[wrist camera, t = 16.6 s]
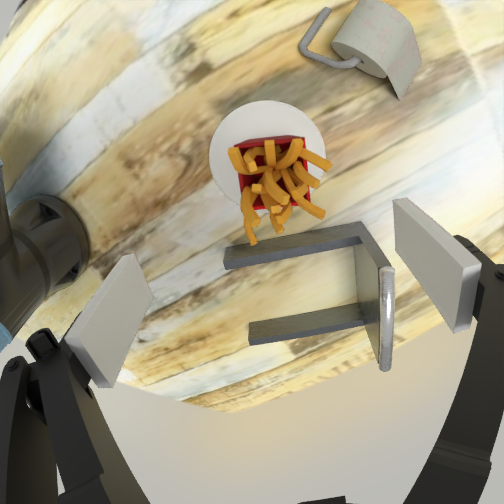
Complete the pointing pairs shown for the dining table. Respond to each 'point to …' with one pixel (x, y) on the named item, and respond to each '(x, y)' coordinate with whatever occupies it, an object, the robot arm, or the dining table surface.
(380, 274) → the gray bracket
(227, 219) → the dining table surface
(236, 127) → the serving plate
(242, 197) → the french fries
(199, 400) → the dining table surface
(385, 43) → the toilet paper roll
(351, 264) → the dining table surface
